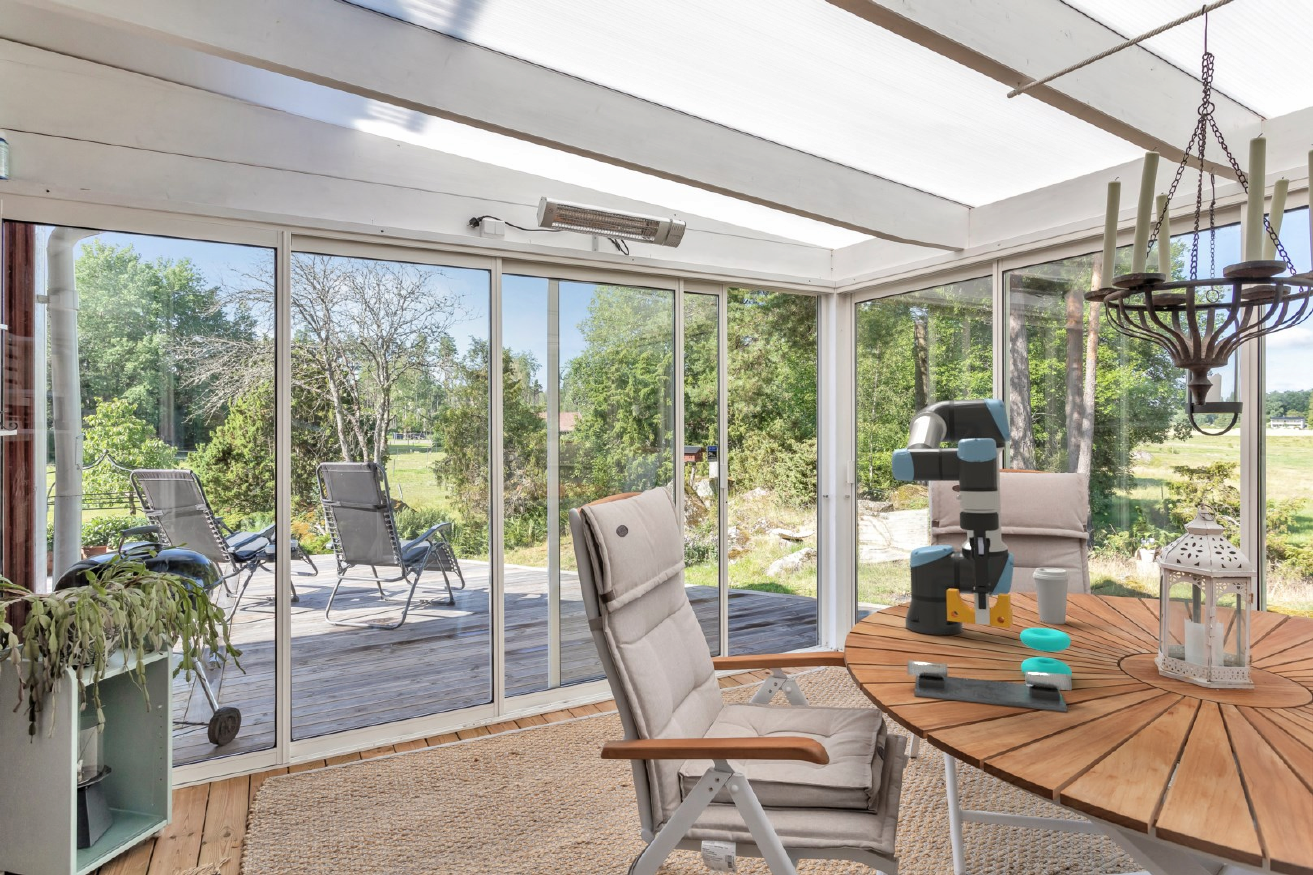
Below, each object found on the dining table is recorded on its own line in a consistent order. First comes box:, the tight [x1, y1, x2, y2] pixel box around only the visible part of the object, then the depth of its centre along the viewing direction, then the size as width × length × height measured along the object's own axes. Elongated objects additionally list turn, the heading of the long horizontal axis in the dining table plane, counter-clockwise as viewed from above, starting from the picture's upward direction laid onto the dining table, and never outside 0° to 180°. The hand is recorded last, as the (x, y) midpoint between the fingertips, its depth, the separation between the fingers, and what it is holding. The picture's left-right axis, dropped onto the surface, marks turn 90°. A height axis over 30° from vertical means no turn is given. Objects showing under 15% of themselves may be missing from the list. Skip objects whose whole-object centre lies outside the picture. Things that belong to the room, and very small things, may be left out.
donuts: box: [1019, 627, 1073, 677], centre depth 158 cm, size 10×10×10 cm
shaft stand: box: [907, 659, 1072, 713], centre depth 148 cm, size 12×31×6 cm, turn 68°
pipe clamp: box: [947, 588, 1014, 629], centre depth 149 cm, size 12×4×6 cm, turn 54°
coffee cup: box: [1032, 567, 1071, 625], centre depth 205 cm, size 10×10×15 cm
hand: (982, 620), depth 149 cm, fingers closed on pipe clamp, 5 cm apart
